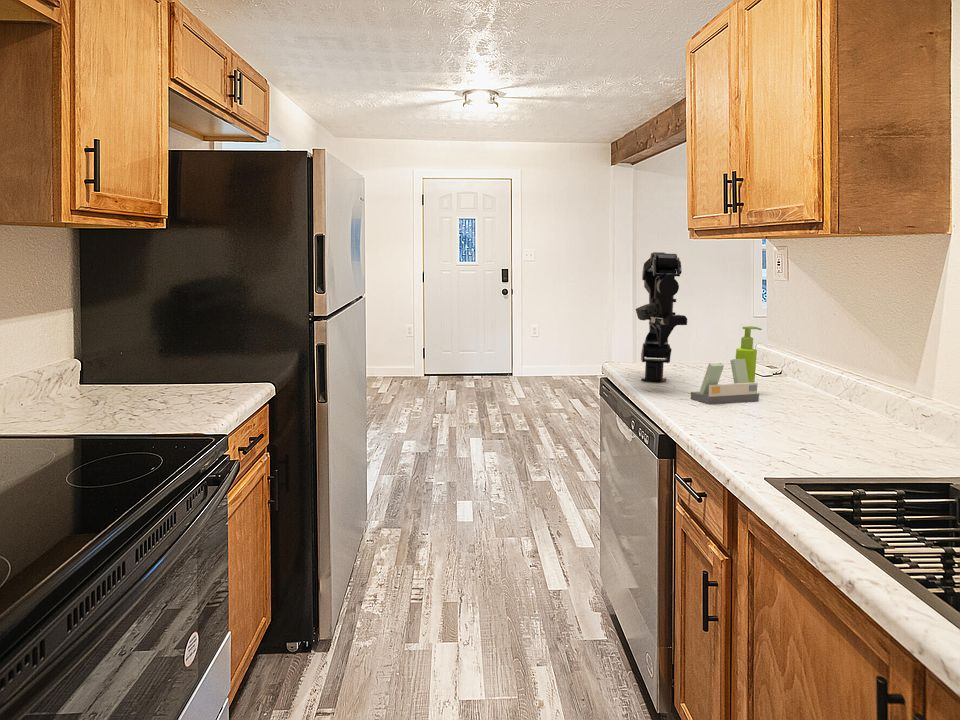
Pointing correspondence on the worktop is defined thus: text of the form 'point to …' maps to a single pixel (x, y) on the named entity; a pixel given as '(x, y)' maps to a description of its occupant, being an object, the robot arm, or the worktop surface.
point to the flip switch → (711, 376)
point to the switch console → (728, 393)
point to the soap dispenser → (748, 353)
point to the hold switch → (739, 371)
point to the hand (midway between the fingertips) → (661, 346)
